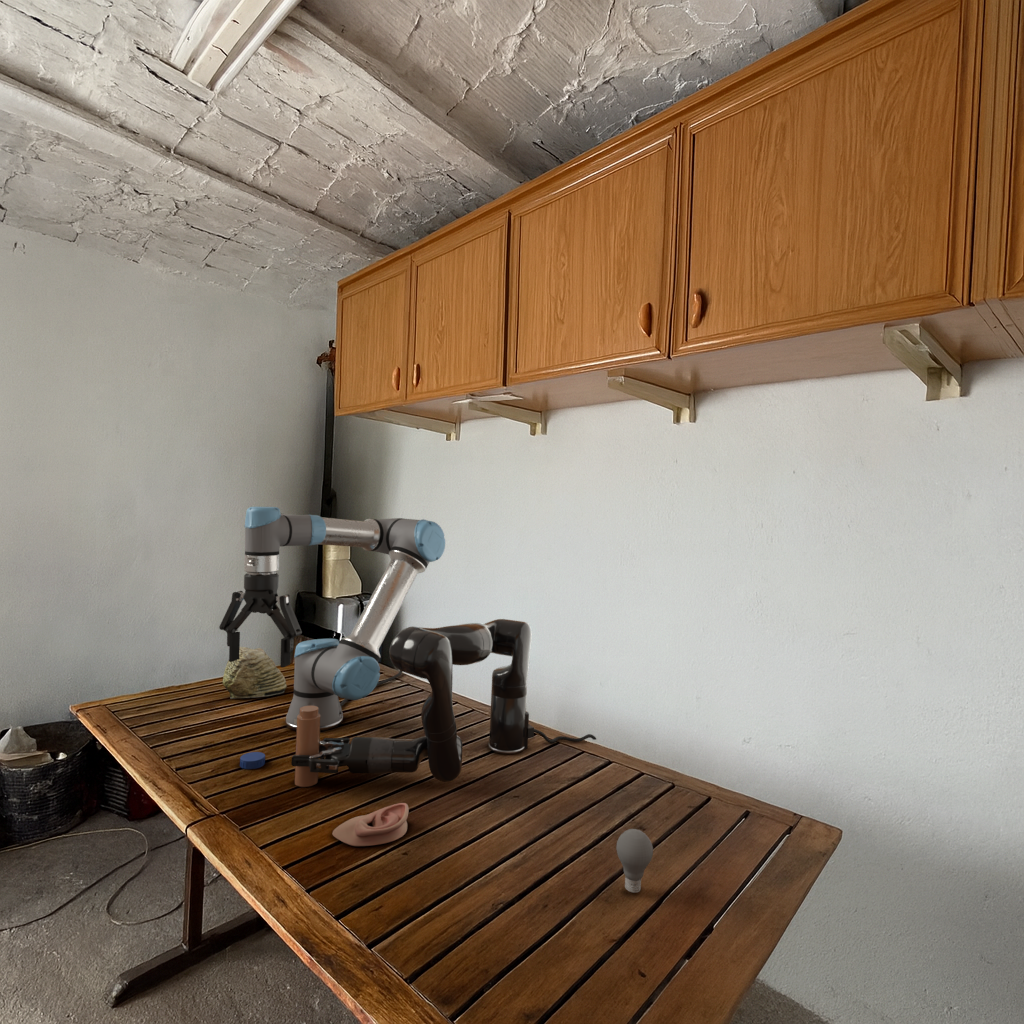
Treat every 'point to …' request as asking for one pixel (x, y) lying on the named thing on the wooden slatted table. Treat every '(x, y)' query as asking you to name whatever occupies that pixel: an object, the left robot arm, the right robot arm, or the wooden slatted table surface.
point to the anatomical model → (374, 826)
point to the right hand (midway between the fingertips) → (296, 753)
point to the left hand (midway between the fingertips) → (259, 663)
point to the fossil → (253, 675)
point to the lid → (252, 760)
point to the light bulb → (634, 857)
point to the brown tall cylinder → (307, 743)
